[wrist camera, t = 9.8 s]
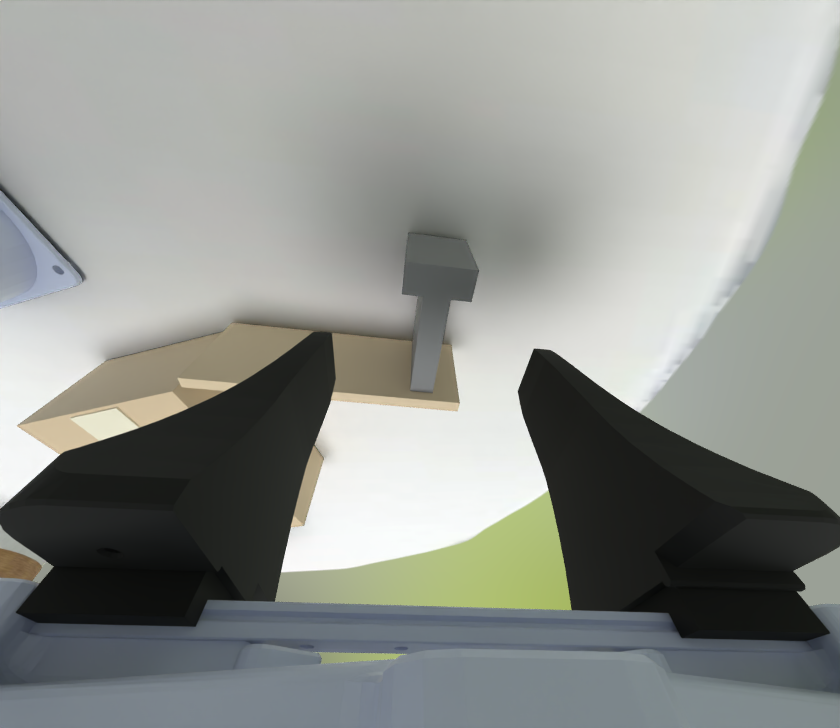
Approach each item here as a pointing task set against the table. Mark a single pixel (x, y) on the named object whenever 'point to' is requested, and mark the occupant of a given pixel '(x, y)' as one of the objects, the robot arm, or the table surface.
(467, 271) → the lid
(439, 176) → the table surface
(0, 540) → the coffee cup
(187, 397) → the carton
